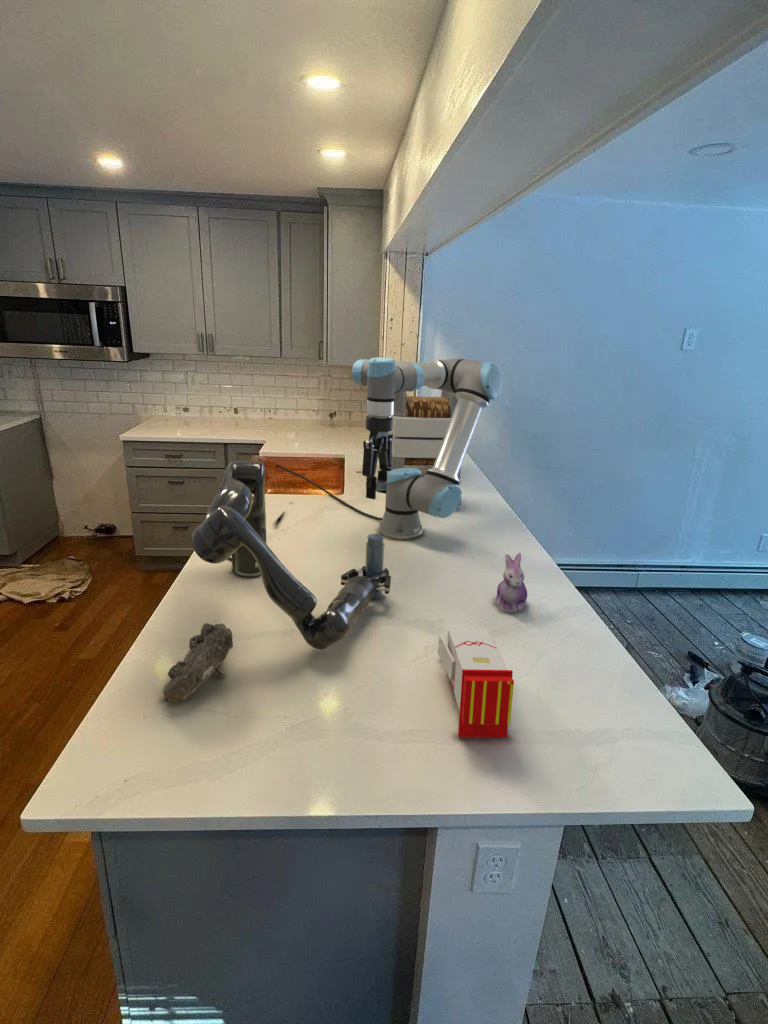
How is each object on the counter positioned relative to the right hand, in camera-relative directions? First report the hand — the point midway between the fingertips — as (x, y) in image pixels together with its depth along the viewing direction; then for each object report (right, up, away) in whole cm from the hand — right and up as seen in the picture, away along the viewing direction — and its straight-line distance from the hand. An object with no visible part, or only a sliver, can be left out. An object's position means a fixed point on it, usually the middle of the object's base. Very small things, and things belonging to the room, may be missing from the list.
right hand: (376, 495), depth 164 cm
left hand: (0, -21, -8) cm, 22 cm away
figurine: (+37, -30, -10) cm, 49 cm away
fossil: (-36, -39, -44) cm, 69 cm away
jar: (-1, -28, -8) cm, 29 cm away
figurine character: (+30, -2, +67) cm, 73 cm away
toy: (+20, -43, -46) cm, 66 cm away
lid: (0, +4, -1) cm, 4 cm away
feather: (-36, -6, +48) cm, 60 cm away
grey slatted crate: (+20, +14, +111) cm, 113 cm away
